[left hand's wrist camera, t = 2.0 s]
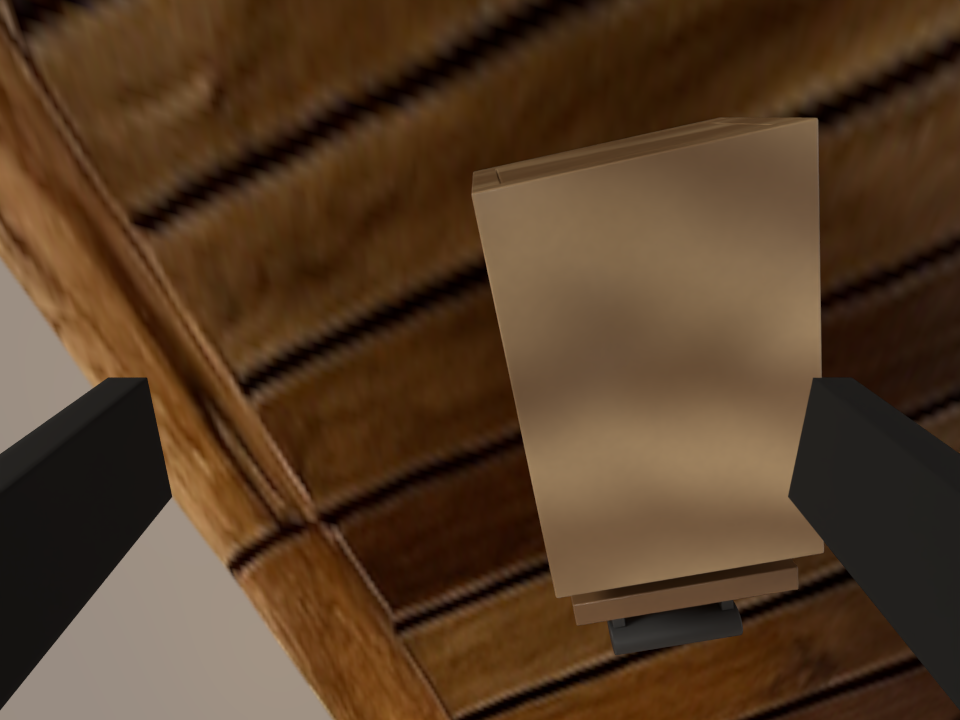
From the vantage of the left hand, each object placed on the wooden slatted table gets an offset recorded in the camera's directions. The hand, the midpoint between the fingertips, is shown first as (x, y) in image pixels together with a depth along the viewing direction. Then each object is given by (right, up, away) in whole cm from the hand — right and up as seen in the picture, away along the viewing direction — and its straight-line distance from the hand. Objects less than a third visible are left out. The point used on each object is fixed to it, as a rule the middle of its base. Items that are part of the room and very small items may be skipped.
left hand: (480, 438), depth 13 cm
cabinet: (+7, +3, +17) cm, 19 cm away
